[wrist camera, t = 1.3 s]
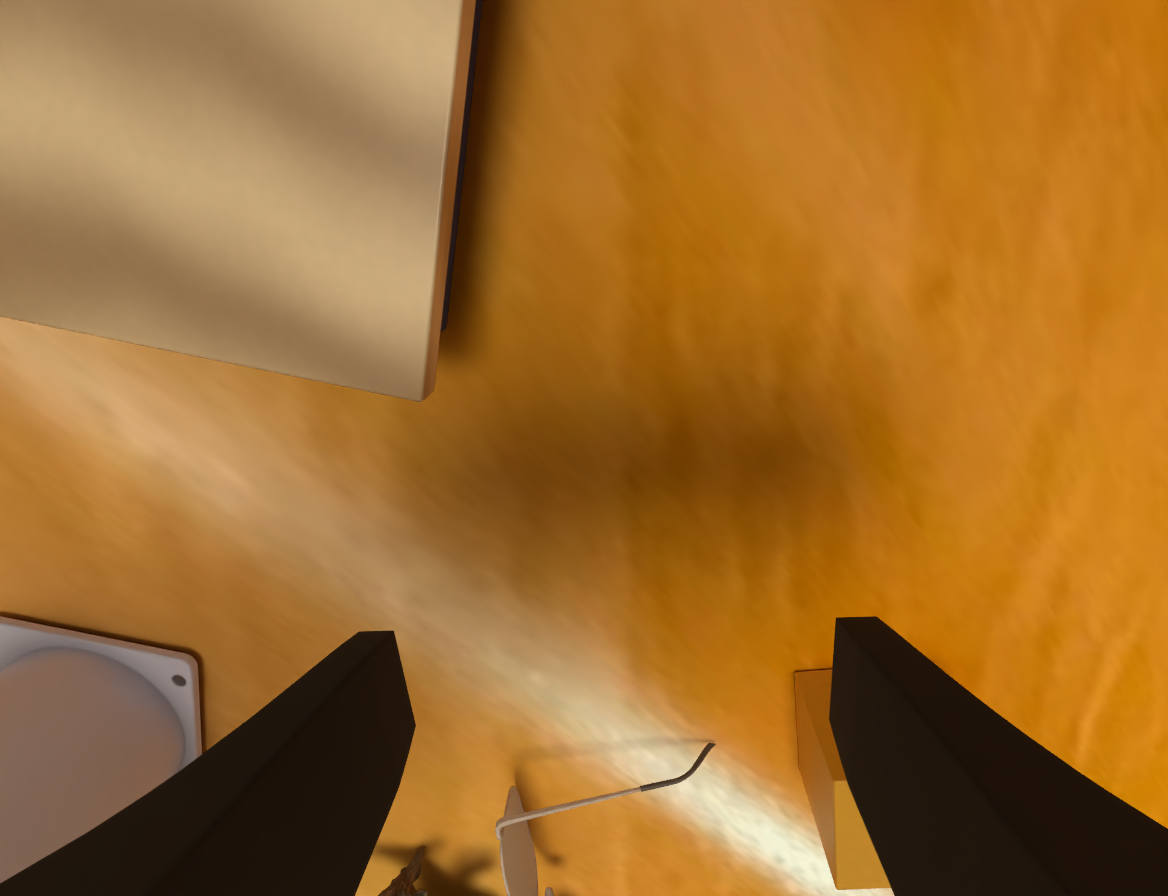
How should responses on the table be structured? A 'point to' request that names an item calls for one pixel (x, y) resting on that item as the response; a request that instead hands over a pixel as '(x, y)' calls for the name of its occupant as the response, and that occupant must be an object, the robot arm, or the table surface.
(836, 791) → the block
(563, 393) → the table surface
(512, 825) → the eyeglasses
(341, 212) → the box
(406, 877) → the eagle figurine
